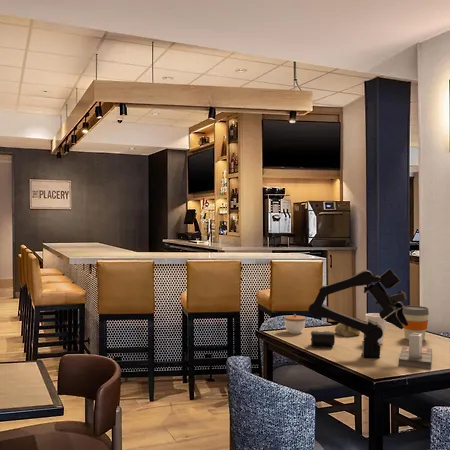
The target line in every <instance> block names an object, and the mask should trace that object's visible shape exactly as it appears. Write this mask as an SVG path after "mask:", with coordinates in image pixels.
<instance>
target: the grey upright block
mask: <svg viewBox="0 0 450 450" xmlns="http://www.w3.org/2000/svg"><path fill="white" fill-rule="evenodd" d="M408 347H409V357H412V358H420V357H421V356H422V348H423V340H422V334H420V333H412V335H409V340H408Z"/></svg>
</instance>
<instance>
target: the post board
mask: <svg viewBox="0 0 450 450" xmlns="http://www.w3.org/2000/svg"><path fill="white" fill-rule="evenodd" d="M432 359H433V348H429V347H422V356H421V357H420V358H412V357H409V345H408V346H406V345H402V348H401V351H400V354H399V357H398V366H401V367H409V368H411V367H412V368H421V369H429V370H430V369H432Z"/></svg>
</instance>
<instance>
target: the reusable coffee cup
mask: <svg viewBox="0 0 450 450" xmlns="http://www.w3.org/2000/svg"><path fill="white" fill-rule="evenodd" d="M403 307H404V311H403V313H404V315H405V318H406V320H407V322H408V325H407V326H406V325H404V324H403V323H401V324H402V326H403V327H404V328H403V330H404V331H403V332H404V339H406V340H408V341H409V335H412V333H420V334H422V341H425V337H426V332H427V329H428V324H429V319H428V318H429V314H430V313H429V307H427V306H421V305H404V306H403ZM403 307H402V308H403Z"/></svg>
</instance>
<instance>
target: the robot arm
mask: <svg viewBox="0 0 450 450" xmlns="http://www.w3.org/2000/svg"><path fill="white" fill-rule="evenodd" d="M401 281H402V280H400V278H399V277H398V276H397V274H396V273H394V272H393V270H392V269H391V268H388V269H387V270H386V271H385V272H384V273H382V274H381V275H378V274H373V273H372V271H370V270H369V269H365V270H364V269H363V270H362V271H360V272H358V273H356V274H354V275H353V276H351V277H349V278H345V279H343V280H340V281H336V282H332V283H330V284H328V285H322V286H321V287H320V288H319V290H318V291H319V292H318V294H317V295H316V297H315V300H314V301H312V302H311V303H310V304H309V307H308V312H309V315H311V316H312V317H315V318H321V319H329V320H331V321H334V322H336V323H341V324H344V325H346V326H349V327H351V328H354V329H357V330H359V331H360V333H362V334H363V340H362V343H361V344H362V345H361V346H362V349H361V351H362V352H361V356H362V357H363V358H365V359H366V358H367V359H380V358H381V346H380V344H379V342H378V339H380V338H381V337H382V336H383V331H382V327H381V326H380V325H379V324H378V322H373V321H371V320H370V319H368V322H366V321H362V320H359V319H357V318H355V317H351V316H349V315H347V314H344V313H341V312H339V311H336V310H334V309H332V308H331V307H328V306H327V305H326V304H324V302H325V300H326V298H327V296H328V295H331V294H334V293H337V292H341V291H344V290H347V289H350V288H353V287H362V286H364V287H363V293H364V294H368V292H369V294H370V295H371V297H372V298H373V299H374V300H375V304H377V305H379V307H380V308H381V309H382V310H381V311H380V312H379V314H380V315H379V316H380V317H381V318H382V319H384V318H385V317H386V318H385V319H384V320H386V322H387V323H389V324H392V325H393V326H394V327H396V328H399V329H400V330H402V329H403V330H404V327H403V324H404V325H406V326H407V325H408V322H407V320H406V318H405V315H404V313H403V311H404V307H403V306H405V304H403V302H404V301H406V300H408V298H407V293H406V292H404V291H403V290H400V291H399V290H398V291H397V293H396V294H391V293H388V292H387V290H386V289H389V290H390V289H393V288H394V287H395V286H396V285H398V284H400V283H401ZM402 307H403V308H402ZM402 323H403V324H402Z"/></svg>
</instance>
